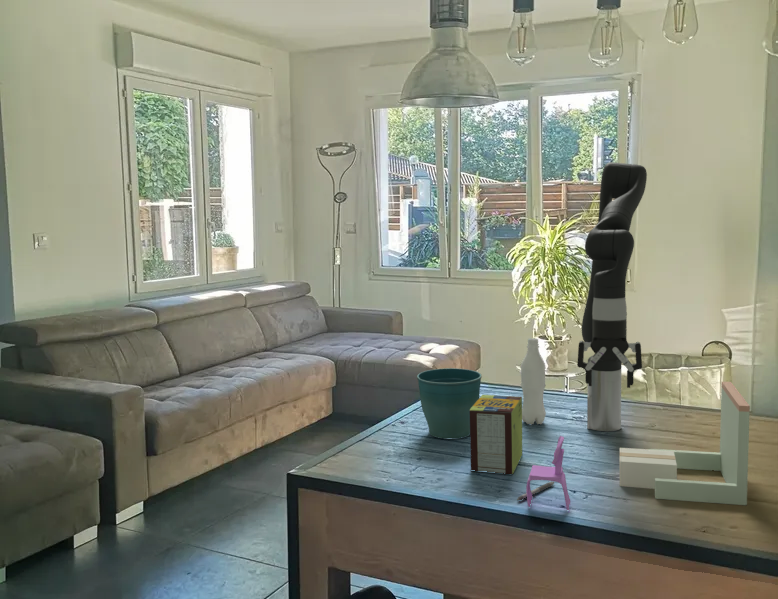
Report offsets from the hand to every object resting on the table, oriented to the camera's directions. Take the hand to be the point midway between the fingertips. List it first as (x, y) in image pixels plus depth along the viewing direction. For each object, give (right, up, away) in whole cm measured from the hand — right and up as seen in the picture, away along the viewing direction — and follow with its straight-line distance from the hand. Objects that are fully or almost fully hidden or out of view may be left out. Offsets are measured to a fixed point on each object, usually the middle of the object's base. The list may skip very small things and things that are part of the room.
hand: (609, 386), depth 171 cm
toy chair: (-17, -24, -14) cm, 33 cm away
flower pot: (-34, -18, +38) cm, 54 cm away
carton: (+8, -22, -2) cm, 23 cm away
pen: (-18, -23, -8) cm, 31 cm away
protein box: (-24, -21, +13) cm, 34 cm away
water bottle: (-9, -16, +46) cm, 50 cm away
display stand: (+18, -21, -4) cm, 28 cm away
